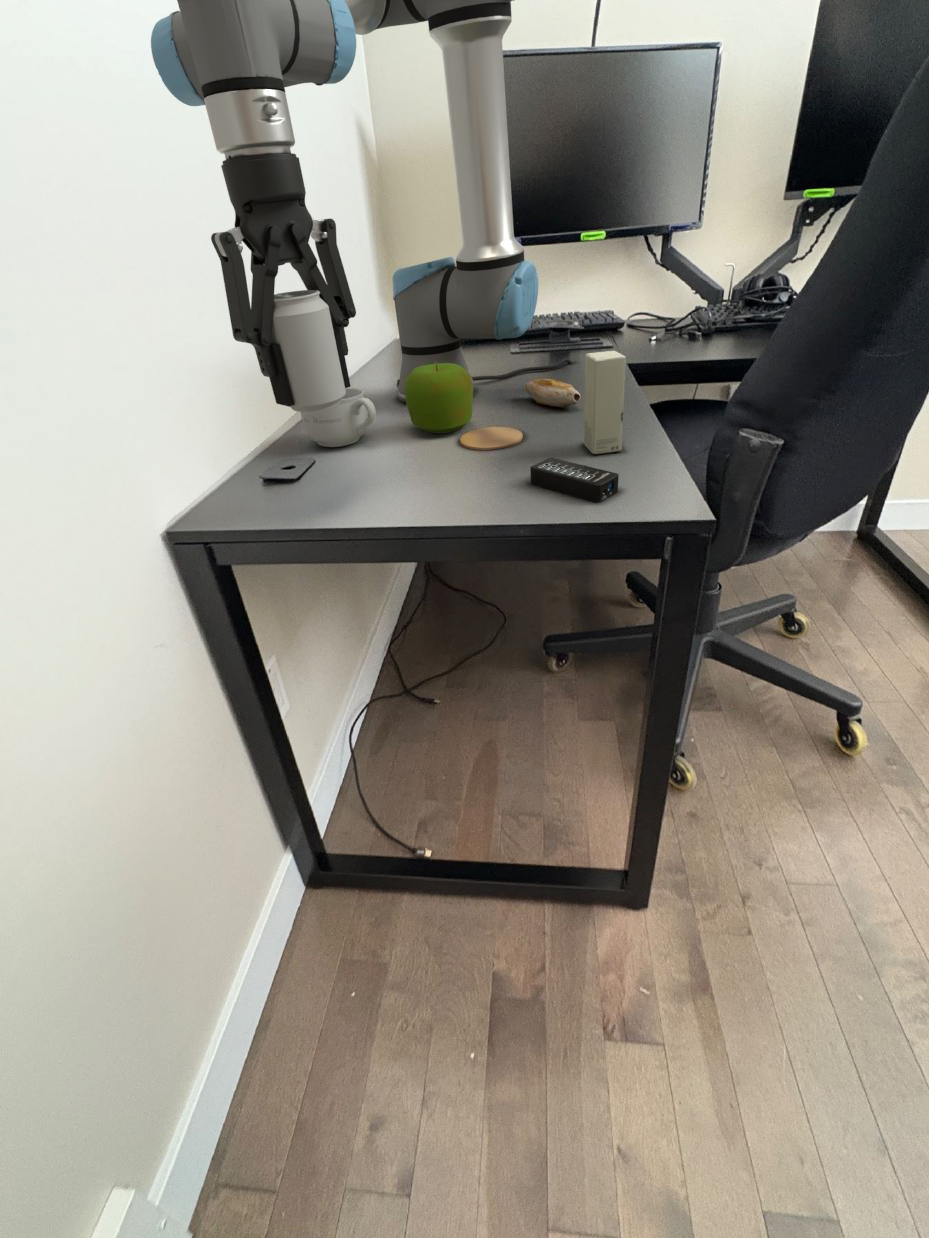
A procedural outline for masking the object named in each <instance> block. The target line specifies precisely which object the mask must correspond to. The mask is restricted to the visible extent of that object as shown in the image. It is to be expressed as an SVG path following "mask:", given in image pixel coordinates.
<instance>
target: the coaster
mask: <svg viewBox="0 0 929 1238" xmlns="http://www.w3.org/2000/svg"><path fill="white" fill-rule="evenodd" d="M523 435H524V434H523V432H522V431H521V430H520V429H517V428H515V427H508V426H488V427H481V428H477V429H473V430H470V431H467V432H465V433H463V434H462V435H461V436H460V438H459V443H460V445H461V446H462V447H464V448H467V449H470V450H476V451H494V450H502V449H506V448H509V447H512V446H515V445H517V444H519V443H520V442H521V441H523V438H524V436H523Z"/></svg>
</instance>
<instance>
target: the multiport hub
mask: <svg viewBox="0 0 929 1238" xmlns="http://www.w3.org/2000/svg"><path fill="white" fill-rule="evenodd" d="M529 470H530V472H529V473H530V484H531V485H532V486H536V487H540V488H544V489H546V490H551V491H554V492H558V493H561V494H563V495H564V494H565V495H568V496H570V497H571V496H572V497H574V498H579V499H583V500H586V501H589V502H593V503H601V502H603V501H605V500H607V499H609V498H610V497H612V496H613V495H615V494H617V493H618V491H619V479H620V477H619V476H620V474H619V473H617V472H613V471H609V470H605V469H601V468H596V467H592V466H588V465H584V464H580V463H577V462H576V463H575V462H571V461H568V460H564V459H560V458H554V457H548V458H546V459H544V460H542V461H540V462H537V463H535V464H533V465H531V466H530V467H529Z"/></svg>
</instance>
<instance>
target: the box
mask: <svg viewBox="0 0 929 1238" xmlns="http://www.w3.org/2000/svg"><path fill="white" fill-rule="evenodd" d="M584 359H585V360H584V361H585V364H584V428H583V429H584V430H583V432H584V436H583V437H584V438H583V444H584V446H585V447H586V449H587V450H588V451H589V452H590V453H591V454H593V455H601V454H602V455H603V454H609V453H615V452H616V453H617V452H620V451H622V447H623V446H622V443H623V422H624V406H625V405H624V402H625V401H624V400H625V385H626V384H625V383H626V382H625V381H626V366H627V365H626V363H627V362H626V361H627V357H626V356H625V355H624V354H622V353H620V352H618V351H616V350H607V351H597V352H590V353H589V352H588V353H586V354H585V358H584Z"/></svg>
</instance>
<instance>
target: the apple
mask: <svg viewBox="0 0 929 1238" xmlns="http://www.w3.org/2000/svg"><path fill="white" fill-rule="evenodd" d="M435 363H436V364H430V365H424V366H419V367H416V368H414V369H413V371H412V372H411V373H410V374H409V375H408V377H407V378H406V379H405V387H404V393H405V398H406V403H405V404H406V408H407V412H408V414H409V418H410V421H411V423H412V424H413V426H415V427H417V428H419V429H421V430H423V431H424V432H428V433H432V434H448V433H452V432H457V431H458V430H461V429H463V428H464V427H465V426H466V425H467V424H468V423H469V422H470V421H471V420H472V419H473V405H474V403H473V402H474V401H473V399H474V397H473V396H474V392H473V384H474V382H473V383H472V379H471V377H472V375H471V373H470V372H469V373H468V372H467V371H466V370H465V369H463V368H462V367H461V366H459V365H457V364H451V363H439V364H437V361H435ZM470 375H471V376H470Z"/></svg>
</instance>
